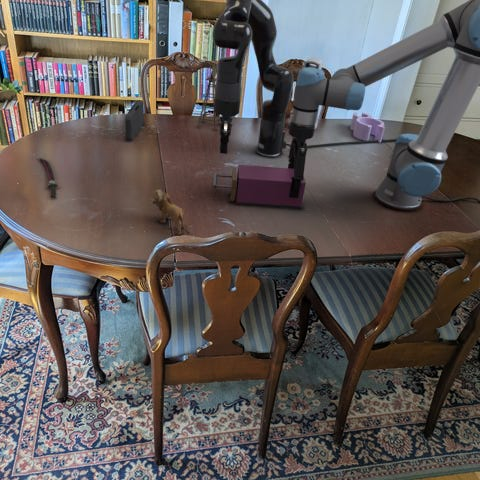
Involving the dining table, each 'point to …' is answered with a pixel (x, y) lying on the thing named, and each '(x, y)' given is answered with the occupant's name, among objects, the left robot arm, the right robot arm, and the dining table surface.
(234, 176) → the drawer
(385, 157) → the dining table surface
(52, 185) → the sword
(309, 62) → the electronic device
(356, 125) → the clip
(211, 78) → the miniature windmill
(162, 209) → the lion figurine
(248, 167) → the purple rectangular box
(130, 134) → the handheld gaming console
